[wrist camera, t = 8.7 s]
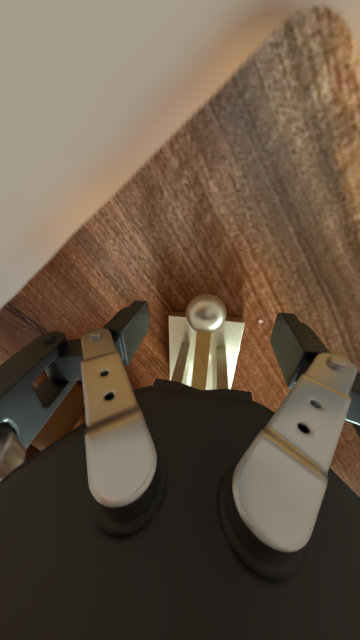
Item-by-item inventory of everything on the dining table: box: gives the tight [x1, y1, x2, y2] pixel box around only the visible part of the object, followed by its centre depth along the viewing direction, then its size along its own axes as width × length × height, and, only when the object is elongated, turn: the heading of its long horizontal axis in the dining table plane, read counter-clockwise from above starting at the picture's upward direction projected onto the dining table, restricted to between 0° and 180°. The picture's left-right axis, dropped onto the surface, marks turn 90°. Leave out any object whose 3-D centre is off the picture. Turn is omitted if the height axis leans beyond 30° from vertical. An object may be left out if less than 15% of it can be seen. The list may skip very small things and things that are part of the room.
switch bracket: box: [169, 311, 245, 390], centre depth 18 cm, size 11×8×13 cm
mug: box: [24, 382, 85, 462], centre depth 27 cm, size 12×8×9 cm, turn 12°
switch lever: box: [186, 294, 226, 390], centre depth 15 cm, size 13×3×3 cm
